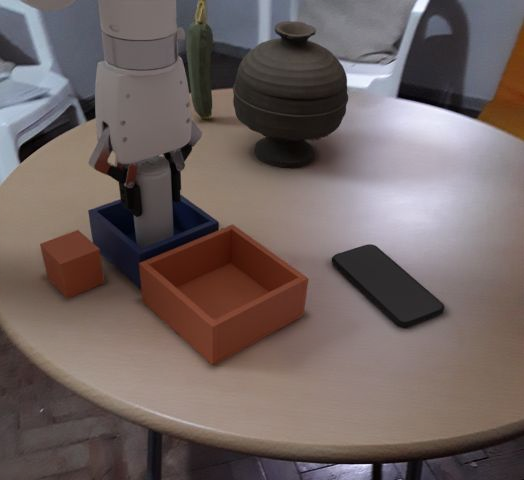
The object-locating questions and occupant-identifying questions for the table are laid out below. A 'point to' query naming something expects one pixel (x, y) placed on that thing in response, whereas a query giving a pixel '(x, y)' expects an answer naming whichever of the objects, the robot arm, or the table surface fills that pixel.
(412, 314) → the smartphone
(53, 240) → the terracotta block
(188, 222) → the navy bin
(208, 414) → the table surface
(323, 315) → the table surface
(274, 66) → the pot
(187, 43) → the vegetable
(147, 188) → the beverage can
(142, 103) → the robot arm
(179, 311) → the terracotta bin
